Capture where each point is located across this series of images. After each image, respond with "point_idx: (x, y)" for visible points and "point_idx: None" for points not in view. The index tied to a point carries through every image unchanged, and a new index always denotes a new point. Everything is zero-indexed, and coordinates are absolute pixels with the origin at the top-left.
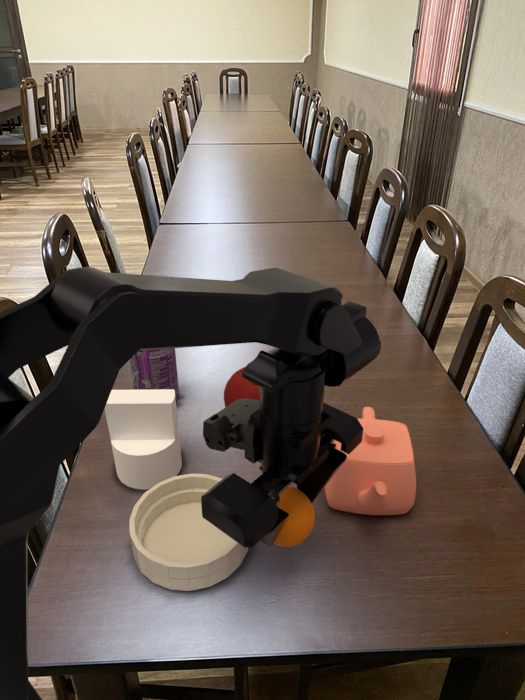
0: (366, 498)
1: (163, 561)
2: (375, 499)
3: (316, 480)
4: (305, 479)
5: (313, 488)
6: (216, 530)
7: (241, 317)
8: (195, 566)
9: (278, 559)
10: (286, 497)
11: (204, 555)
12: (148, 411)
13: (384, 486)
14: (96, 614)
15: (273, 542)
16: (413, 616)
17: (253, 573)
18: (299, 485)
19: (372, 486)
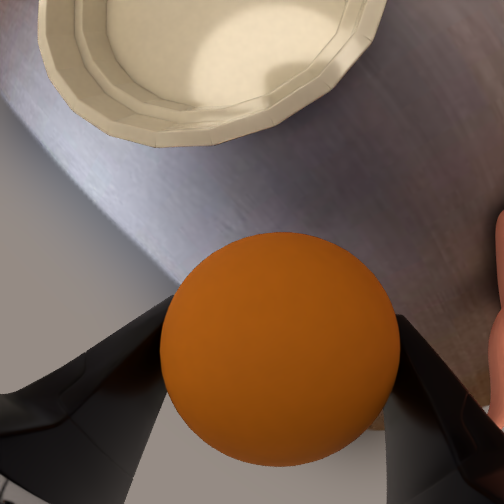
0: (495, 359)
1: (48, 62)
2: (490, 379)
3: (398, 493)
4: (415, 452)
5: (393, 452)
6: (276, 11)
7: None
8: (85, 119)
9: (320, 181)
10: (252, 457)
11: (199, 46)
12: None
13: None
14: (28, 40)
15: None
16: None
17: (252, 158)
18: (416, 392)
19: (501, 405)
